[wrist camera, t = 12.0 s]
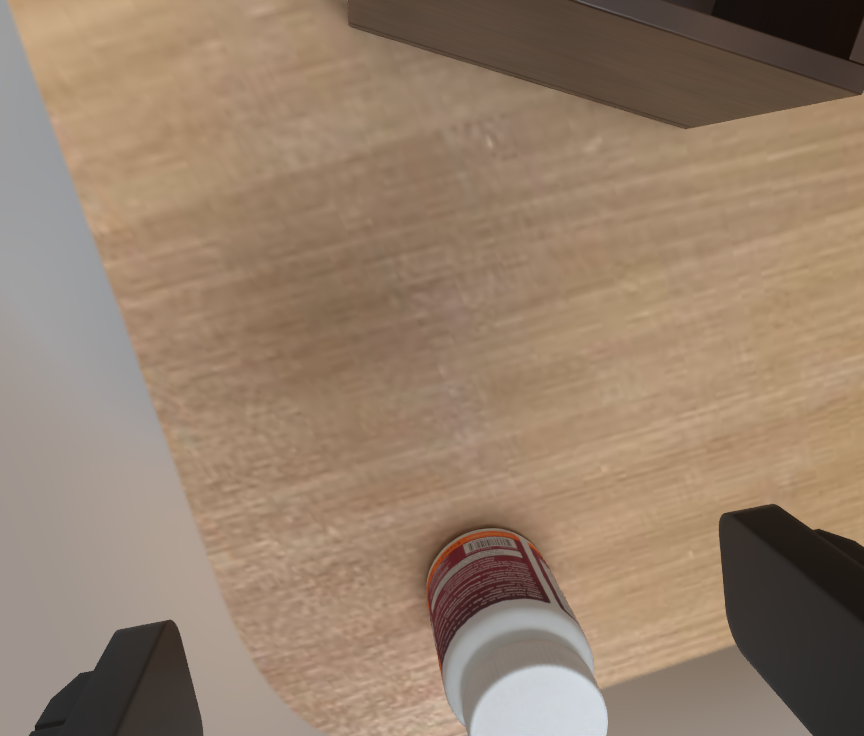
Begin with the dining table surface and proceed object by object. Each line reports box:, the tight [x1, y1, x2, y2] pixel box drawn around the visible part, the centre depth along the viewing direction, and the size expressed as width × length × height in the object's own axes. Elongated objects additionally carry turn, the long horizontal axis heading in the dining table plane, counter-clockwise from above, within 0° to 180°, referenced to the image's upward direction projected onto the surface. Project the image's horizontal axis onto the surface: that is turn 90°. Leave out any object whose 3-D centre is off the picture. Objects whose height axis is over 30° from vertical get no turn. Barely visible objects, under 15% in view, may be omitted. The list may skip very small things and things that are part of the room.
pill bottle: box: [426, 528, 608, 736], centre depth 34 cm, size 6×6×11 cm
